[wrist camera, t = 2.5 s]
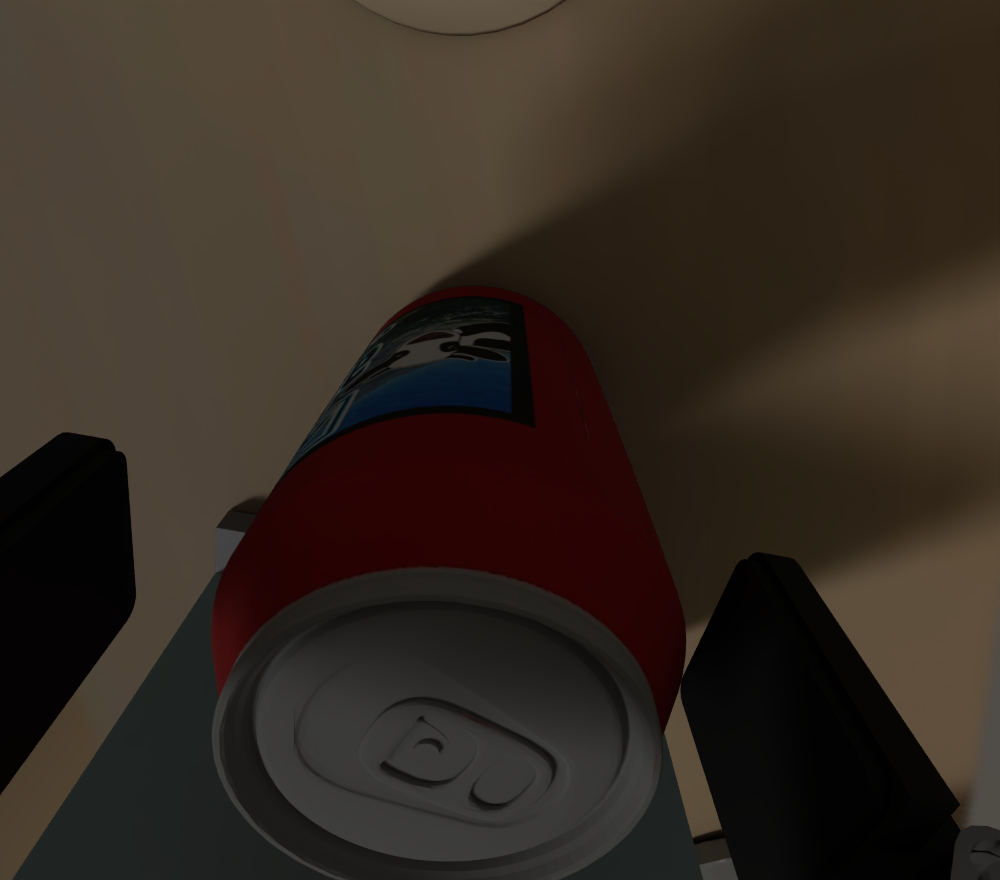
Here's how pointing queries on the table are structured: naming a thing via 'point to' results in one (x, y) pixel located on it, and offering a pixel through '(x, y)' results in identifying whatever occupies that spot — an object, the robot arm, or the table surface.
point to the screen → (209, 810)
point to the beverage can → (450, 614)
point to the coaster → (460, 14)
